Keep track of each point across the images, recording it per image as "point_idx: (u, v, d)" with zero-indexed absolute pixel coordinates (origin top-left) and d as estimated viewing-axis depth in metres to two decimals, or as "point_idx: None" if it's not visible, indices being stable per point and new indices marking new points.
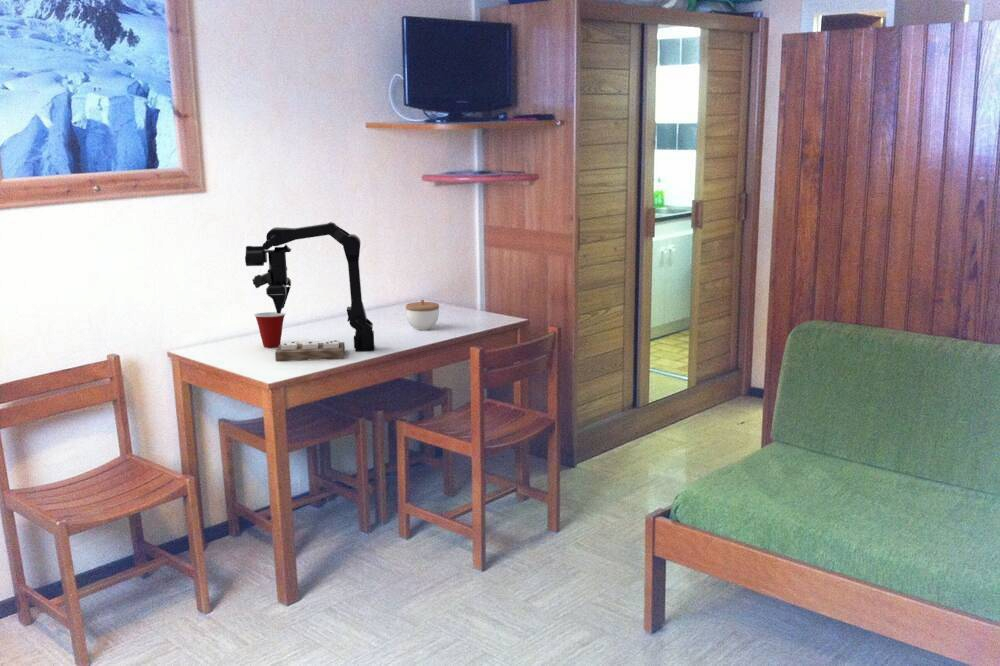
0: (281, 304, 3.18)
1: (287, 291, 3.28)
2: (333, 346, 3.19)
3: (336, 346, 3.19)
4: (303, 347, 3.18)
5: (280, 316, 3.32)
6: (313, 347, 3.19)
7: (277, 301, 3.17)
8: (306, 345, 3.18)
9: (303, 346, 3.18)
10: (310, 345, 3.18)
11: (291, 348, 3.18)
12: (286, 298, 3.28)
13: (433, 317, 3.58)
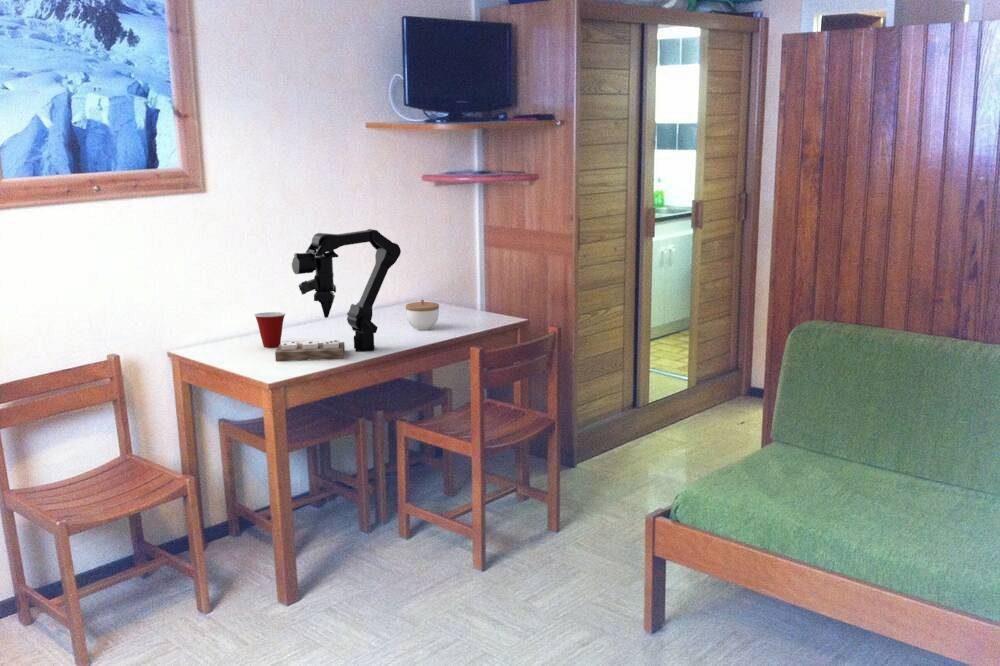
0: (329, 308, 3.18)
1: None
2: (333, 346, 3.19)
3: (336, 346, 3.19)
4: (303, 347, 3.18)
5: (280, 316, 3.32)
6: (313, 347, 3.19)
7: (325, 305, 3.17)
8: (306, 345, 3.18)
9: (303, 346, 3.18)
10: (310, 345, 3.18)
11: (291, 348, 3.18)
12: None
13: (433, 317, 3.58)
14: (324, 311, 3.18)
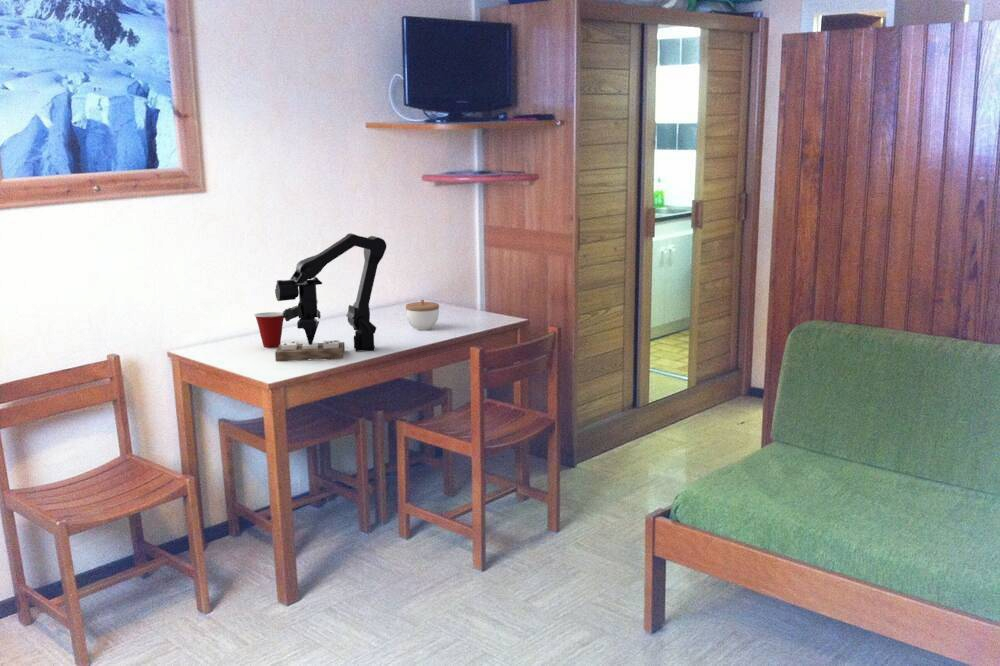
0: (313, 335, 3.19)
1: None
2: (333, 346, 3.19)
3: (336, 346, 3.19)
4: None
5: (280, 316, 3.32)
6: None
7: (309, 332, 3.19)
8: (306, 347, 3.18)
9: (303, 348, 3.18)
10: (310, 347, 3.18)
11: (291, 348, 3.18)
12: None
13: (433, 317, 3.58)
14: (308, 338, 3.19)
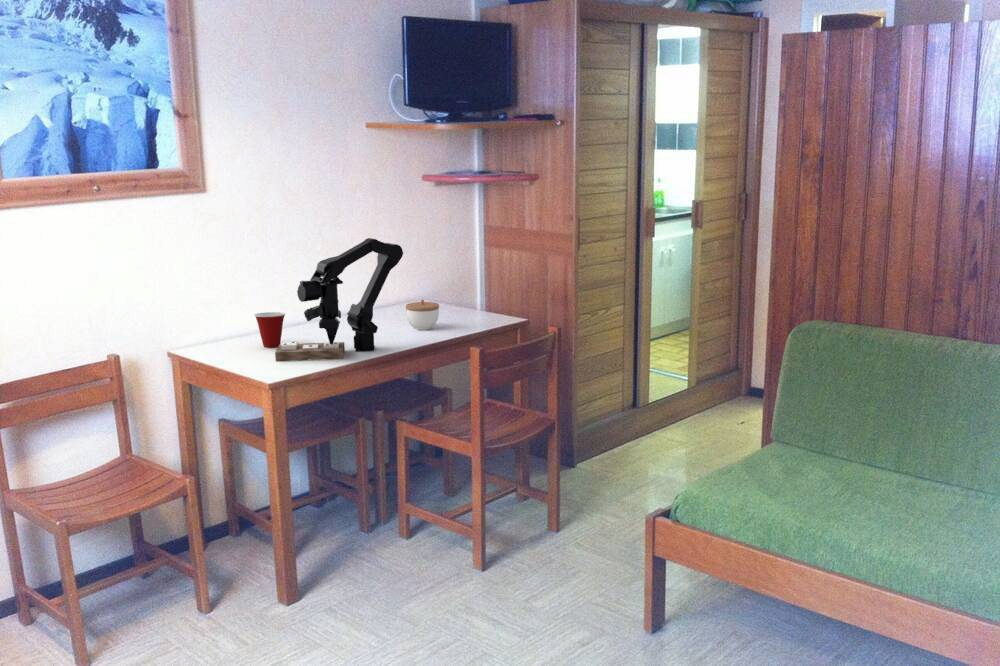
0: (334, 334, 3.20)
1: None
2: None
3: None
4: None
5: (280, 316, 3.32)
6: None
7: (330, 332, 3.19)
8: (306, 348, 3.19)
9: None
10: (310, 348, 3.19)
11: (291, 348, 3.18)
12: None
13: (433, 317, 3.58)
14: (329, 337, 3.20)
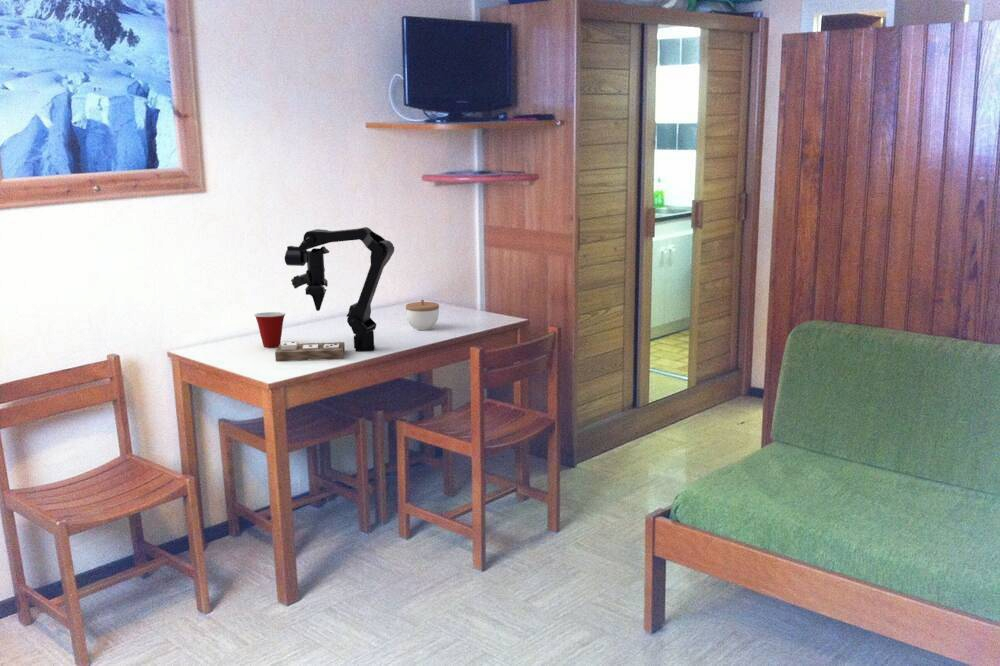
0: (320, 302, 3.30)
1: (323, 294, 3.31)
2: None
3: None
4: None
5: (280, 316, 3.32)
6: None
7: (316, 299, 3.29)
8: (306, 348, 3.19)
9: None
10: (310, 348, 3.19)
11: (291, 348, 3.18)
12: (322, 300, 3.31)
13: (433, 317, 3.58)
14: (316, 304, 3.30)
